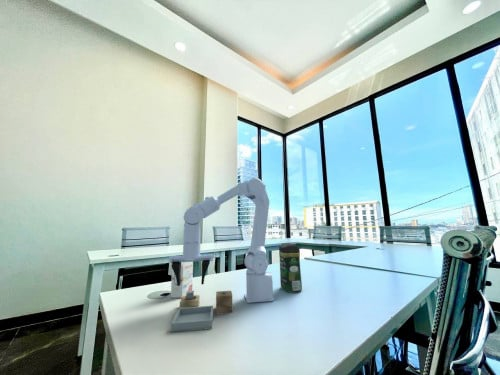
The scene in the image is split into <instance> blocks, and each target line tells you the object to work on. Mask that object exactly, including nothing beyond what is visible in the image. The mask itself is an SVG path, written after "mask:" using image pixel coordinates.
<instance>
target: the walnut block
mask: <svg viewBox="0 0 500 375" xmlns="http://www.w3.org/2000/svg"><path fill="white" fill-rule="evenodd" d="M215 294H216V295H215V314H216V315H220V314H232V313H233V293H232V290H223V291H222V290H219V291H216V292H215Z"/></svg>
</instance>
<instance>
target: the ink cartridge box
mask: <svg viewBox="0 0 500 375" xmlns="http://www.w3.org/2000/svg"><path fill="white" fill-rule="evenodd" d="M192 260H194V259H192ZM193 271H194V262H182V263H181V284H180V286H177V280H176V276H175V273H174V271H173V269H172V268H171V281H170V282H171V283H170V284H171V285H170V289H171V290H170V298H173V299H175V298H176V299H177V298H178V299H181V298H182V296H186V293H187V291H193V282H194V281H193V275H194V274H193V273H194V272H193Z"/></svg>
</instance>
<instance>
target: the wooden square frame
mask: <svg viewBox="0 0 500 375" xmlns="http://www.w3.org/2000/svg"><path fill="white" fill-rule="evenodd" d="M200 296H201V295H200V294H194V300H186V296H182V298H180V301H179V308H188V307H200Z"/></svg>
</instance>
